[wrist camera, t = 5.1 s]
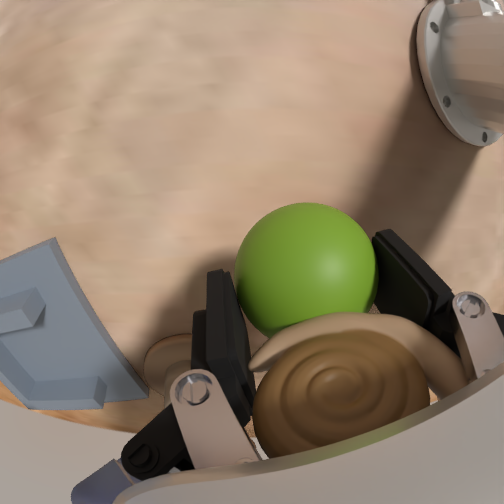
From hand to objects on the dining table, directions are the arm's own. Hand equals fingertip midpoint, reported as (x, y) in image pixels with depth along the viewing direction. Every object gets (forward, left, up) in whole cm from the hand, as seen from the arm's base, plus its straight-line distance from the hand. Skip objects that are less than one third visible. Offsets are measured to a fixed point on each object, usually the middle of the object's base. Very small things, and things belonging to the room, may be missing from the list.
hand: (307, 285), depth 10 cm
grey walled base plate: (+6, -20, -8) cm, 23 cm away
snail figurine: (0, +1, -3) cm, 3 cm away
